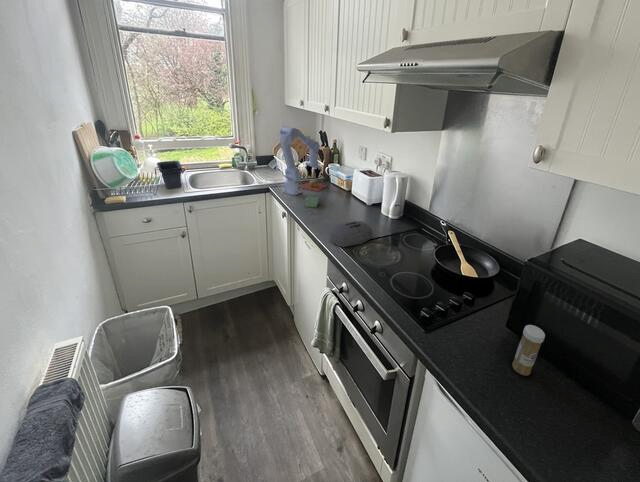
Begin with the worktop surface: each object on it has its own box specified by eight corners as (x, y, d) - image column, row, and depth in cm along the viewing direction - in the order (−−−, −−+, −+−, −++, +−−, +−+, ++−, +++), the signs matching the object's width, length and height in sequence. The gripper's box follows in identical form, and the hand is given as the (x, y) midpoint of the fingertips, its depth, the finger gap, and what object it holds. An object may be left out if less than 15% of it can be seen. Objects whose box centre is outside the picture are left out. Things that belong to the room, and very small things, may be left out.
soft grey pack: (357, 229, 154) (324, 238, 144) (358, 214, 151) (324, 222, 141) (375, 242, 143) (340, 252, 132) (377, 226, 140) (341, 235, 129)
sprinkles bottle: (523, 378, 78) (537, 339, 73) (507, 364, 82) (520, 326, 77) (534, 372, 80) (549, 334, 75) (519, 359, 84) (532, 322, 79)
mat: (298, 187, 212) (298, 186, 212) (308, 182, 224) (308, 181, 224) (317, 191, 206) (317, 191, 206) (327, 186, 218) (327, 185, 218)
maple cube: (311, 187, 212) (311, 182, 211) (309, 185, 216) (309, 180, 214) (316, 186, 214) (316, 181, 212) (314, 185, 217) (315, 180, 216)
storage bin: (186, 188, 198) (183, 167, 193) (159, 191, 190) (155, 170, 185) (181, 179, 214) (178, 160, 209) (156, 182, 206) (152, 162, 201)
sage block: (304, 206, 180) (305, 200, 178) (307, 202, 186) (307, 196, 185) (316, 207, 179) (316, 201, 178) (318, 203, 186) (318, 197, 184)
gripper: (324, 159, 206) (324, 178, 210) (310, 155, 215) (310, 173, 219) (317, 161, 201) (316, 180, 206) (303, 157, 210) (303, 175, 215)
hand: (313, 177), depth 212 cm, fingers open, 7 cm apart
